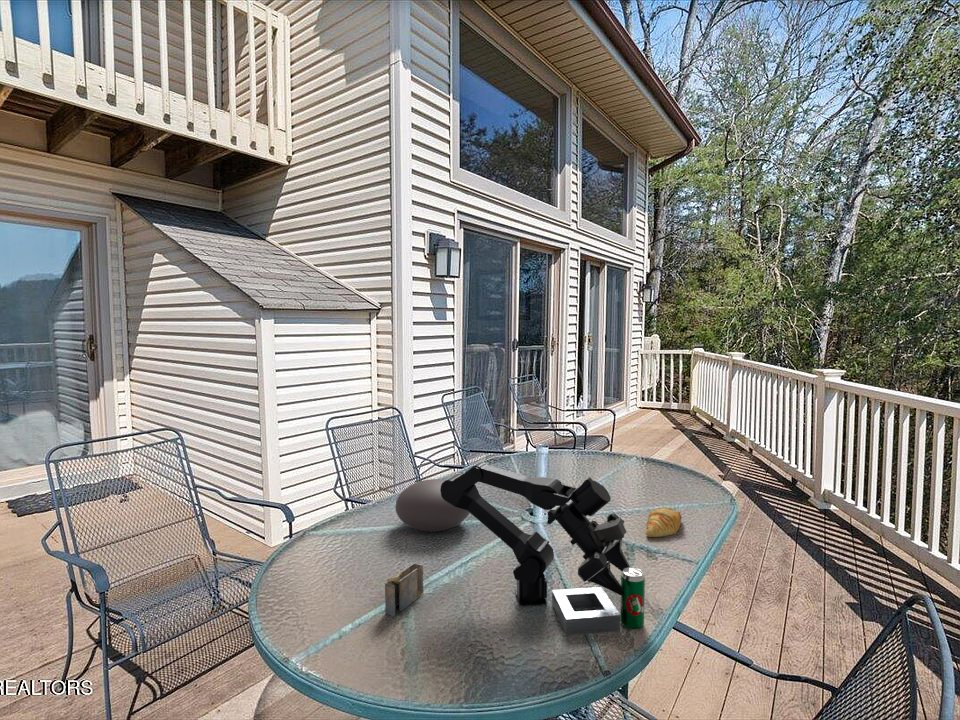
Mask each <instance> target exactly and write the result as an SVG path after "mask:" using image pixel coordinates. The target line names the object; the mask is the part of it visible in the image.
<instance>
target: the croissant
mask: <svg viewBox="0 0 960 720" xmlns="http://www.w3.org/2000/svg"><path fill="white" fill-rule="evenodd" d="M682 518H683V517H682V514H681V512H679V511H676V510H673V509H672V508H667V507H663V508H661V507H660V508H657V509H654V510H652V511H651V512H649V514H648V516H647V520H646V521H647V522H646V525H645V526H646V527H645V528H646V529H645V535H646V536H647V537H650V538H661V537H667V536H672V535H673V536H674V535H676V533H677V532H678V531H679V530H680V526H681V524H682Z"/></svg>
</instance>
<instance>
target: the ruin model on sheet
mask: <svg viewBox="0 0 960 720" xmlns="http://www.w3.org/2000/svg"><path fill="white" fill-rule="evenodd" d="M422 595H424V564H420V563H418V562H417V563H416V562H413V563H412V564H411V565H409V566H407V567H406V568H405V569H403V570H401V571H400V572H399V573H397V574H396V575H394V576H393V577H392V578H387V579H386V582H384V600H385V601H384V602H385V604H384V605H385V607H384V608H385V614H386V615H388V616H392V617H395V616H396V608H397V606H398V611H399V612H400V613H401V612H402V611H403V610H404V609H405V608H407V606H409V605H410V604H412V603H413V602H414V601H416V600H417V599H419V598H420V597H421V596H422Z"/></svg>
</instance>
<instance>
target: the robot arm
mask: <svg viewBox="0 0 960 720" xmlns="http://www.w3.org/2000/svg"><path fill="white" fill-rule="evenodd" d="M445 480H446V481H444V482H443V483H442V485H441V488H440V491H441V496H442V498H443V499H444V500H445V501H446V502H448V503H449V504H451V505H453V506H454V507H457V508H460V509H463V510H467V511H468V512H470V513H469V514H470V515H472V516H473V517H474V518H475V519H477V520H478V521H479V522H480V523H481V524H483V526H485V527H486V528H487V530H489V531H491V532H492V533H493V534H494V535H495V536H497V538H498V539H500V540H501V541H502V542H503V543H504V544H506V545H507V546H508V547H509V548H510V549H511V550H512V551H513V554H514V556H515V558H516V560H517V562H518V563H519V564H518V565H517V566H516V567H515V568H514V569H513V570H512V573H513V576H514V579H515V580H516V590H515V591H514V592H515V593H514V594H515V596H516V600H517V602H518V605H519V606H520V607H528V606H530V607H531V606H541V605H542V606H544V605H547V598H548V580H547V579H546V576H545V572H546V570H547V569H548V568H549V566H550V565H551V563H553V561H554V559H555V552H554V548H553V547H552V546H551V544H549V543H550V540H547V539H546V538H544V537H543V536H542V535H541V534H540V533H539V532H537V531H534V533H532V534H529V533H525V532H524V531H523V530H521V529H520V528H519V527H518V526H517V525H515V523H513V522H512V520H510V519H509V518H507V517H506V516H505V515H504V514H502V513H501V512H500V511H499V510H498V509H497V508H495V507H494V506H493V505H492V504H490V503H489V502H488V501H487V500H486V499H485V498H484V497H483V496H482V495H480V493H479V489H478V487H477V486H476V484H477V483H482V484H485V485H488V486H492V487H493V488H496V489H500V490H504V491H508V492H510V493H513V494H517V495H519V496H522V497H523V498H525V499H526V500H527V501H528V502H530V504H532V505H534V506H536V507H538V508H540V509H542V510H543V511H544V510H546V511H547V520H546V521H547V522H546V523H547V525H551V524H552V523H553V522H554V521H556V522H557V523H558V524H559V525H560V526H561V528H562V529H563V530H564V531H565V532H566V534H567V535H568V536H569V537H570V538H571V540H570V541H569V543H570V544H571V545H572V546H574V545H577V547H579V549H580V550H581V551H582V553H583V555H582V558H583V561H582V562H581V564H580V565H579V566H578V569H577V576H579V579H580V580H582V582H584V583H585V582H588V583H593V584H596V585H598V586H599V587H602V588H605V589H607V590H609V591H611V592H613V593H615V594H616V595H619V596H621V595H623V594H624V593H625V591H624V590H623V588H622V587H621V583H620V581H618V579H617V577H616V576H615V575H614V574H613V572H612V570H611V565H613V566H614V567H615V568H616V569H618V570H619V571H621V572H623V569H625V568H628V567H631V566H630V564H629V562H628V561H627V559H626V556H625V554H624V552H623V549H622V545H623V538H625V534H627V529H626V527H625V525H624V523H625V521H624V520H623V519H622V517H621V516H618V514H616V513H615V512H613V513H609V514H608V515H607V517H606V521H605V520H604V522H603V523H600V524H599V523H598V522H597V521H596V520H594V519H592V520H590V519H589V518H587V516H589V517H592V516H594V515H595V514H596V513H597V512H599V511H600V510H601V509H603V508H604V507H605V506H606V505H607V504H609V503H610V502H611V501H612V500H611V495H610V493H609V491H608V490H607V488H605V486H604V485H602V484H600V482H597V481H596V480H593V479H592V478H591V477H589V476H588V477H587V478H586V479H585V480H584V481H583V482H582V484H581V485H579V486H578V487H575V486H571V485H567V484H564V483H562V482H561V480H559V479H557V478H554V477H553V478H552V477H544V476H542V477H541V476H540V477H539V476H538V477H536V476H535V477H531V476H526V475H523V474H520V473H516V472H512V471H509V470H506V469H503V468H500V467H497V466H493V465H490V464H488V463H486V462H478V463H476V464H475V465H473V466H472V467H470V469H468V470H467V471H466V472H464V473H457V474H455V475H453V476H451V477H449V478H448V479H445ZM570 501H571V502H570ZM568 502H570V503H568ZM555 507H557V508H556V509H554V508H555Z"/></svg>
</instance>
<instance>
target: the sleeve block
mask: <svg viewBox="0 0 960 720" xmlns="http://www.w3.org/2000/svg"><path fill="white" fill-rule="evenodd" d="M551 605H552V607H553V610H554V612H555V614H556V616H557V619H558V620H559V623H560V625H561V627H562V629H563V631H564V634H565V635H567V636H571V635H581V634H582V635H583V634H594V633H595V634H597V633H608V632H621V621H620V612H619V611H618V609H617V608H616V606H615V605H614V603H613V602H612V601H611V599H610V598H609V596H608V594H607V593H606V592H605V590H604V589H603V587H602V586H594V587H593V586H592V587H581V588H580V587H579V588H577V587H576V588H565V589H551ZM591 608H593V609H595V610H582V611H575V609H579V610H580V609H591Z"/></svg>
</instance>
